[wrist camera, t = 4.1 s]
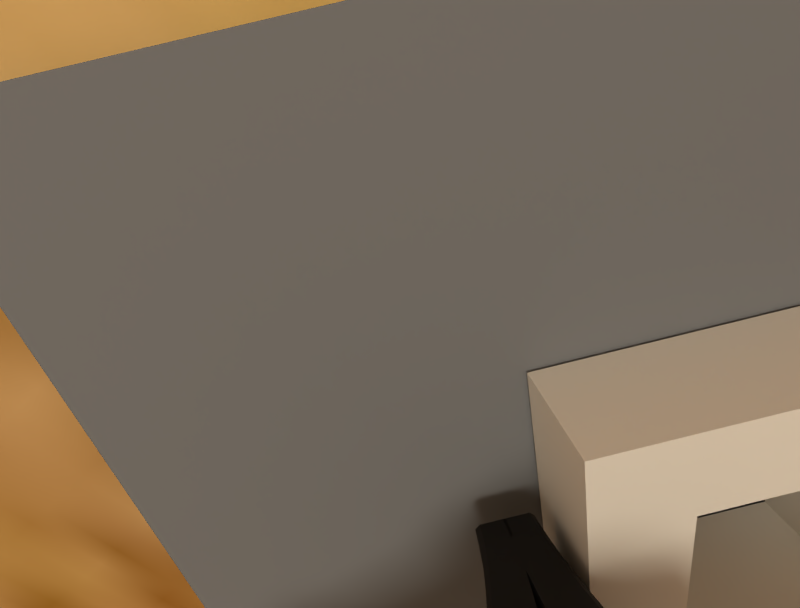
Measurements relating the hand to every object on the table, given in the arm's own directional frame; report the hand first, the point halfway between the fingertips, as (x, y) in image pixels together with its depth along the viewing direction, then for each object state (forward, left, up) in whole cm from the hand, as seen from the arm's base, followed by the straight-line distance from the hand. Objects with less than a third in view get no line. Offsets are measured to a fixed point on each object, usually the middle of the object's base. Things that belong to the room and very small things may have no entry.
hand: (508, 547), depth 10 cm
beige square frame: (-5, 0, -1) cm, 5 cm away
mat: (-4, 0, -2) cm, 5 cm away
